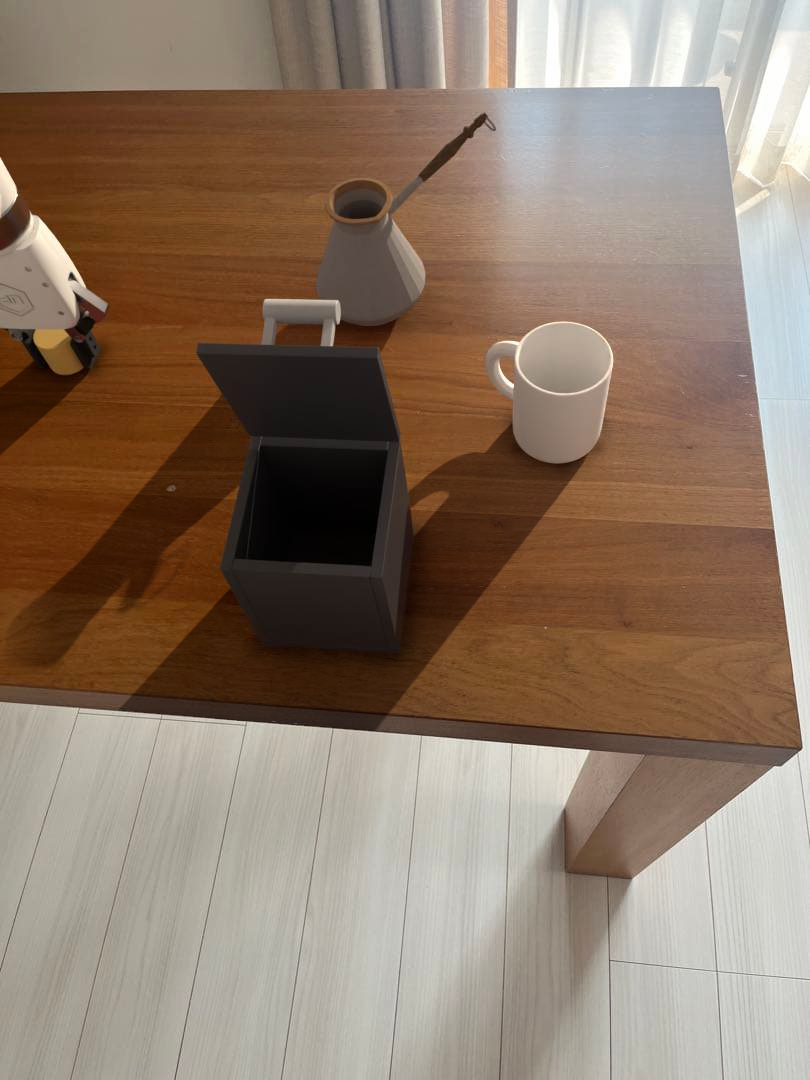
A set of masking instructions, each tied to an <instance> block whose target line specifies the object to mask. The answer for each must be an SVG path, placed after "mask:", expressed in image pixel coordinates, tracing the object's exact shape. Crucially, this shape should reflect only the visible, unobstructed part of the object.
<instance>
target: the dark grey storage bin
mask: <svg viewBox="0 0 810 1080" xmlns="http://www.w3.org/2000/svg"><path fill="white" fill-rule="evenodd" d="M233 508H234V509H233V512H232V516H231V520H230V524H229V528H228V533H227V537H226V541H225V545H224V549H223V553H222V558H221V562H220V566H219V570H220V571H221V572H220V573H222V575H223V577H224V578H225V580H226V582H227V584H228V586H229V587H230V589H231V591H232V593H233V595H234V596H235V598H236V600H237V602H238V603H239V605H240V607H241V608H242V610H243V612H244V614H245V616H246V617H247V620H248V622H249V623H250V625H251V627H252V628H253V630H254V632H255V634H256V635H257V637H258V639H259V641H260V643H261V644H262V646H273V647H287V648H300V649H302V648H303V649H317V650H318V649H319V650H331V651H332V650H333V651H345V652H359V653H360V652H361V653H375V654H387V655H388V654H389V655H400V654H401V647H402V639H403V630H404V622H405V612H406V605H407V598H408V597H407V596H408V588H409V579H410V570H411V563H412V556H413V555H412V554H413V547H414V546H413V545H414V536H415V530H414V523H413V516H412V510H411V509H412V508H411V502H410V496H409V489H408V482H407V476H406V469H405V462H404V456H403V448H402V443H401V441H400V442H384V441H358V440H332V439H306V438H280V437H253V436H250V440H249V444H248V449H247V452H246V457H245V461H244V466H243V470H242V473H241V477H240V482H239V487H238V491H237V494H236V498H235V503H234V507H233Z"/></svg>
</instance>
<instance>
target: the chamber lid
mask: <svg viewBox="0 0 810 1080" xmlns="http://www.w3.org/2000/svg"><path fill="white" fill-rule="evenodd" d="M340 317H341V308H340V302H339V301H338V300H320V299H299V298H297V299H296V298H295V299H292V298H290V299H289V298H265V299H264V300H263V303H262V318H263V321H264V323H263V330H262V335H261V344H260V343H258V344H257V343H256V344H255V343H217V342H198V343H197V345H196V346H197V348H196V352H195V353H196V355H197V357H198V358H199V360H200V362H201V363H202V365H203V366H204V368H205V369H206V371H207V372H208V374H209V376H210V378H211V379H212V380H213V382H214V384H215V385H216V387H217V388H218V390H219V392H220V393H221V395H222V397H223V398H224V399H225V401H226V403H227V404H228V405H229V407H230V409H231V410H232V411H233V413H234V415H235V416H236V418H237V420H238V421H239V423H240V424H241V426H242V428H243V429H244V431H245V432H246V434H247V435H248V437H251V436H253V437H280V438H306V439H332V440H358V441H384V442H401V430H400V426H399V422H398V418H397V414H396V410H395V407H394V406H395V405H394V402H393V399H392V398H393V397H392V394H391V391H390V387H389V383H388V378H387V374H386V372H385V367H384V363H383V359H382V355H381V351H380V348H379V347H378V346H339V345H338V346H337V345H334V341H335V333H336V326H338V325H340V322H341V319H340ZM278 324H279V325H322V330H321V331H322V332H321V339H320V345H303V344H302V345H297V344H275V343H276V337H277V330H278Z"/></svg>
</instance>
